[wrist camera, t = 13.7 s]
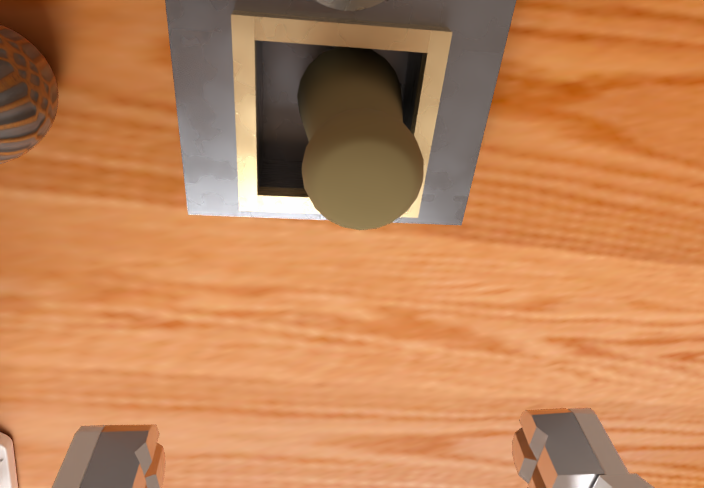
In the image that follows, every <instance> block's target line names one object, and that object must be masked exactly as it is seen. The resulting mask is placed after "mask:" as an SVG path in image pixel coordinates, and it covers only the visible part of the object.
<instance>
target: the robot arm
mask: <svg viewBox="0 0 704 488" xmlns="http://www.w3.org/2000/svg"><path fill="white" fill-rule="evenodd" d="M519 421H520V424H521V426H522V428H521V429H519V430H518V431H517V432H515V434H514V438H513V441H512V454H513V459H514V464H515V467H516V470H517V472H518V475H519V476H520V477H521V478H523V479H524V480H525V481H526V482H527V483H528V487H527V488H654V487H653V486H652V485H650V484H649V483H648V482H646V481H645V480H644V479H642V478H641V477H640V476H639V475H637V474H636V473H629V472H628V470H627V468H626V466H625V465H624V463H623V461H622V459H621V458H620V456H619V454H618V452H617V451H616V449H615V447H614V445H613V443H612V442H611V440H610V438H609V436H608V435H607V433H606V431H605V429H604V428H603V426H602V424H601V422H600V420H599V419H598V417H597V415H596V413H595V412H594V411H593V410H592V409H591V408H574V409H566V408H560V409H541V410H525V411H524V412H523V413H522V414H521V417H520V420H519ZM158 437H159V431H158V428H157V425H97V426H81V427H80V428H79V430H78V431H77V432H76V433H75V435H74V437H73V440H72V442H71V444H70V447H69V449H68V451H67V454H66V456H65V458H64V460H63V463H62V465H61V467H60V470H59V472H58V474H57V477H56V479H55V481H54V483H53V486H52V488H162V485H163V480H164V473H165V453H164V449H163V446H161V445H160V444H158V443H157V441H158ZM0 488H18V483H17V474H16V466H15V458H14V449H13V442H12V440H11V438H10V437H9V436H7V435H6V434H3V433H1V432H0Z"/></svg>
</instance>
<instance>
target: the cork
mask: <svg viewBox="0 0 704 488" xmlns="http://www.w3.org/2000/svg"><path fill="white" fill-rule="evenodd" d="M297 99H298V107H299V113H300V116H301V119H302V122H303V125H304V128H305V132H306V135H307V138H308V141H309V143H308V145H307V146H306V149H305V154H304V158H303V163H302V176H303V183H304V189H305V190H306V192H307V194H308V196H309V198H310V200H311V202H312V204H313V206H314V208H315V209H316V210H317V211H319V212H320V213H321V214H322V215H323V216H324V217H325V218H326V219H327V220H329V221H331V222H333V223H335V224H337V225H339V226H342V227H345V228H351V229H357V230H367V229H376V228H379V227H382V226H384V225H387V224H390V223H392V222H393V221H395V220H396V219H397V218H399V217H400V216H401V215H403V214H404V213H406V212H407V211H408V209H409V208H410V207H411V205H412V204H413V203H414V201H415V200H416V199H417V197H418V194H419V191H420V189H421V186H422V183H423V174H424V159H423V156H422V153H421V151H420V148H419V145H418V142H417V140H416V138H415V136H414V135H413V134H412V133H411V132H410V130H409V129H408V128H407V127H406V126H405V124H404V123H403V116H402V96H401V85H400V82H399V80H398V77H397V74H396V71H395V70H394V69H393V68H392V66H391V65H390V64H389V62H388V61H387V60H386V59H385V58H384V57H382V56H381V55H379V54H378V53H376V52H374V51H373V50H371V49H367V48H354V47H336V48H333V49H331V50H329V51H327V52H324V53H322V54H320V55H319V56H318V57H317V58H316V59H315V60H314V61H313V62H312V63H311V64H310V65H308V67H307V69H306V71H305V73H304V74H303V76H302V78H301V80H300V84H299V89H298V95H297Z"/></svg>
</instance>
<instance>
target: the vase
mask: <svg viewBox="0 0 704 488" xmlns="http://www.w3.org/2000/svg"><path fill="white" fill-rule="evenodd" d="M57 107H58V88H57V83H56V79H55V76H54V74H53V71H52V69H51V67H50V65H49V64H48V62H47V60H46V59H45V58H44V56H43V55H42V54H41V53H40V51H39V50H38V49H37V48H36V47H35V46H34V45H33V44H32V43H31V42H29V41H28V40H27V39H26V38H24V37H23V36H21V35H20V34H18V33H17V32H15V31H13V30H11V29H9V28H7V27H5V26H3V25H0V164H1V163H5V162H8V161H11V160H13V159H15V158H18V157H20V156H21V155H23V154H25V153H27V152H28V151H29V150H31V149H32V148H33V147H34V146H36V145H37V144H38V143H39V142H40V141H41V140H42V138H43V137H44V136H45V135H46V133H47V132H48V131H49V129H50V128H51V126H52V124H53V121H54V119H55V116H56V113H57Z"/></svg>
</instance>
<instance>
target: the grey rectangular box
mask: <svg viewBox="0 0 704 488" xmlns="http://www.w3.org/2000/svg"><path fill="white" fill-rule="evenodd" d="M165 3H166V12H167V21H168V31H169V40H170V49H171V59H172V68H173V78H174V87H175V96H176V106H177V115H178V124H179V134H180V143H181V153H182V162H183V171H184V181H185V190H186V199H187V209H188V215H212V216H238V217H263V218H289V219H315V220H327V219H326V218H325V217H324V216H323V215H322V214H321V213H320V212H319V211H317V210H316V209H315V208H314V206H313V204H312V202H311V200H310V198H309V196H308V194H307V192H306V190H305V189H304V183H303V176H302V163H303V158H304V154H305V149H306V146H307V145H308V143H309V141H308V138H307V135H306V132H305V128H304V125H303V122H302V119H301V116H300V113H299V107H298V99H297V95H298V89H299V84H300V80H301V78H302V76H303V74H304V73H305V71H306V69H307V67H308V65H310V64H311V63H312V62H313V61H314V60H315V59H316V58H317V57H318V56H319V55H320V54H322V53H324V52H327V51H329V50H331V49H333V48H336V47H354V48H367V49H371V50H373V51H374V52H376V53H378V54H379V55H381V56H382V57H384V58H385V59H386V60H387V61H388V62H389V64H390V65H391V66H392V68H393V69H394V70H395V71H396V74H397V77H398V80H399V82H400V85H401V96H402V116H403V123H404V124H405V126H406V127H407V128H408V129H409V130H410V132H411V133H412V134H413V135H414V136H415V138H416V140H417V142H418V145H419V148H420V151H421V153H422V156H423V159H424V174H423V183H422V186H421V189H420V191H419V194H418V197H417V199H416V200H415V201H414V203H413V204H412V205H411V207H410V208H409V209H408V211H407V212H406V213H404V214H403V215H401V216H400V217H399V218H397V219H396V220H395V221H393V222H392V223H418V224H444V225H462V221H463V217H464V212H465V208H466V204H467V200H468V196H469V192H470V188H471V184H472V180H473V176H474V171H475V167H476V163H477V159H478V155H479V151H480V147H481V143H482V139H483V135H484V130H485V126H486V122H487V118H488V114H489V110H490V106H491V102H492V98H493V94H494V89H495V85H496V81H497V77H498V73H499V69H500V65H501V61H502V57H503V53H504V48H505V44H506V40H507V36H508V32H509V28H510V24H511V20H512V16H513V11H514V7H515V3H516V0H165Z"/></svg>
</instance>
